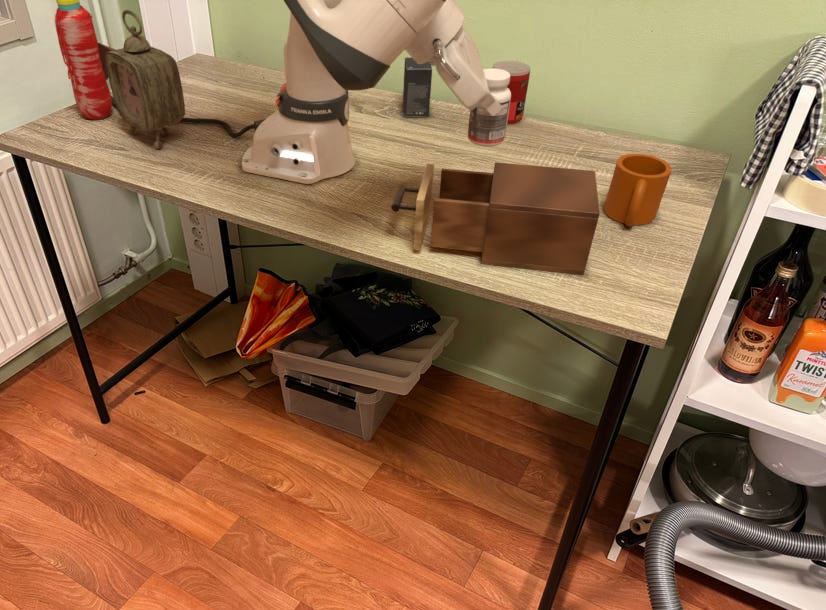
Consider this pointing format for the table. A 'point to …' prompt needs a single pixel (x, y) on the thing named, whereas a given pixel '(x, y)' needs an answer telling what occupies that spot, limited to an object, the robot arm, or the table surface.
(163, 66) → the tabletop clock
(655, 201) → the mug
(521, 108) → the canned food
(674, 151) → the table surface
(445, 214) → the drawer
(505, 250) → the cabinet
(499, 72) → the pill bottle
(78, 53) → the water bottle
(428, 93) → the box
